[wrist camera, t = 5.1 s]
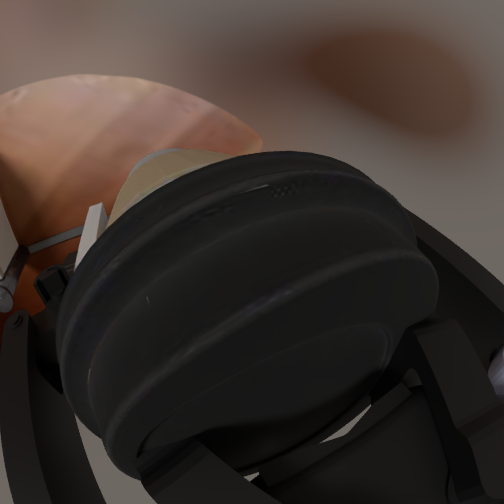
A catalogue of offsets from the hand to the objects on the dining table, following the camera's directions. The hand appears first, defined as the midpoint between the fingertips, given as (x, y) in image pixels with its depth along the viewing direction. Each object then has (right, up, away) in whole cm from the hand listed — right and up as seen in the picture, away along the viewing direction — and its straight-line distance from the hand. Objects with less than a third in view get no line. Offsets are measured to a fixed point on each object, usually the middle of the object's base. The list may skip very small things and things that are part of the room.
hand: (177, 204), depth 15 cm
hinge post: (-27, -3, +12) cm, 30 cm away
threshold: (-19, 0, +15) cm, 25 cm away
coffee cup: (-1, +1, +2) cm, 2 cm away
